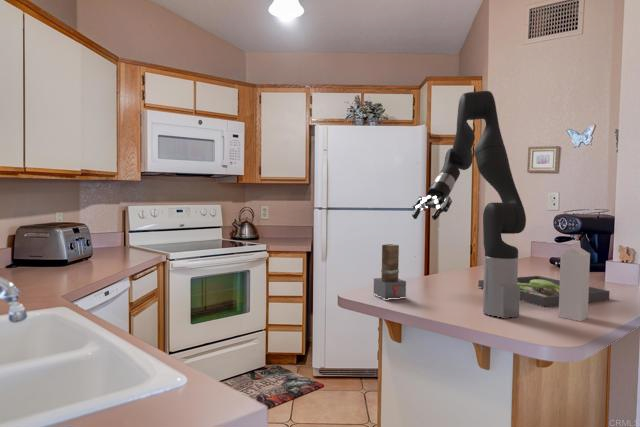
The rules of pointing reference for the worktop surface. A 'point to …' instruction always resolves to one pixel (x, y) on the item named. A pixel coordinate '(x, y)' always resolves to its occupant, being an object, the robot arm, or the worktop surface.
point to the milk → (574, 283)
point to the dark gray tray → (594, 295)
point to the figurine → (538, 285)
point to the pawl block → (390, 288)
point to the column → (390, 262)
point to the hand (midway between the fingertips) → (423, 218)
